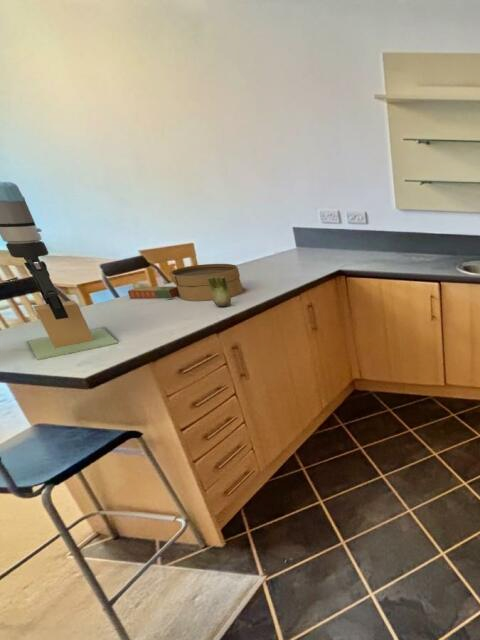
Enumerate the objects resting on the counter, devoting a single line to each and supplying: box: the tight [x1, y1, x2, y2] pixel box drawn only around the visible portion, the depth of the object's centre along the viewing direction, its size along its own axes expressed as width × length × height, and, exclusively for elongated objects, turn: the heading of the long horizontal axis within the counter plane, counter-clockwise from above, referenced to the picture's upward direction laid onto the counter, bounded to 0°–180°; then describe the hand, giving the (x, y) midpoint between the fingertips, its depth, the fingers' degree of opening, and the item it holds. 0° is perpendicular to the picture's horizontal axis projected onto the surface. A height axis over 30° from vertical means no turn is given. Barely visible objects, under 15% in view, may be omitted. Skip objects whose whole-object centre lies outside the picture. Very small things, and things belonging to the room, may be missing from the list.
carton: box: [127, 286, 180, 301], centre depth 180 cm, size 8×16×4 cm, turn 98°
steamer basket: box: [170, 263, 244, 302], centre depth 186 cm, size 25×25×11 cm
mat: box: [28, 328, 119, 361], centre depth 132 cm, size 20×18×1 cm
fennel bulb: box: [208, 277, 232, 307], centre depth 169 cm, size 6×5×12 cm
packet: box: [32, 299, 94, 348], centre depth 129 cm, size 6×9×12 cm, turn 141°
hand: (58, 313), depth 128 cm, fingers open, 13 cm apart
